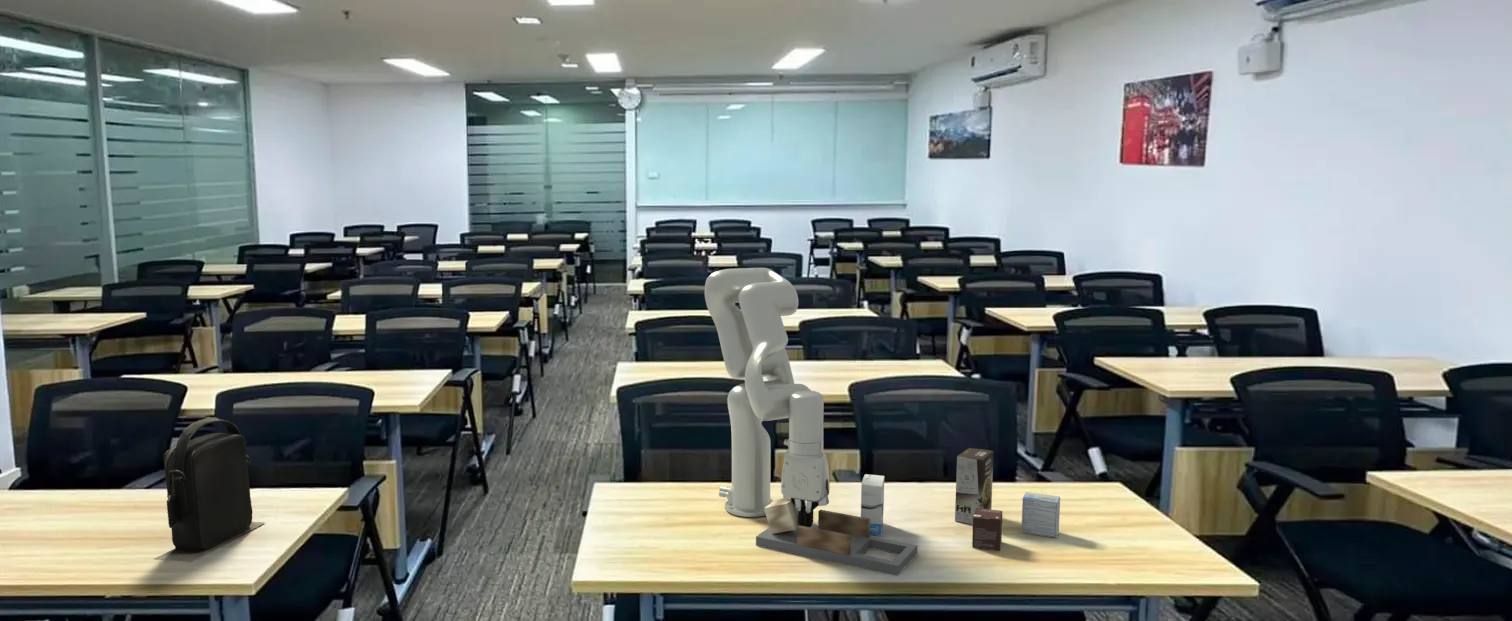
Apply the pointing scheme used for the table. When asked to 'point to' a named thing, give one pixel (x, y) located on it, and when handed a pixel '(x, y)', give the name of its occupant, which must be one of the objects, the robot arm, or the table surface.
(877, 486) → the ink box
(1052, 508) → the medicine box
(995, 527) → the box
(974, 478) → the coffee box
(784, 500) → the maple block
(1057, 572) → the table surface
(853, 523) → the tunnel walls
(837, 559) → the deck
